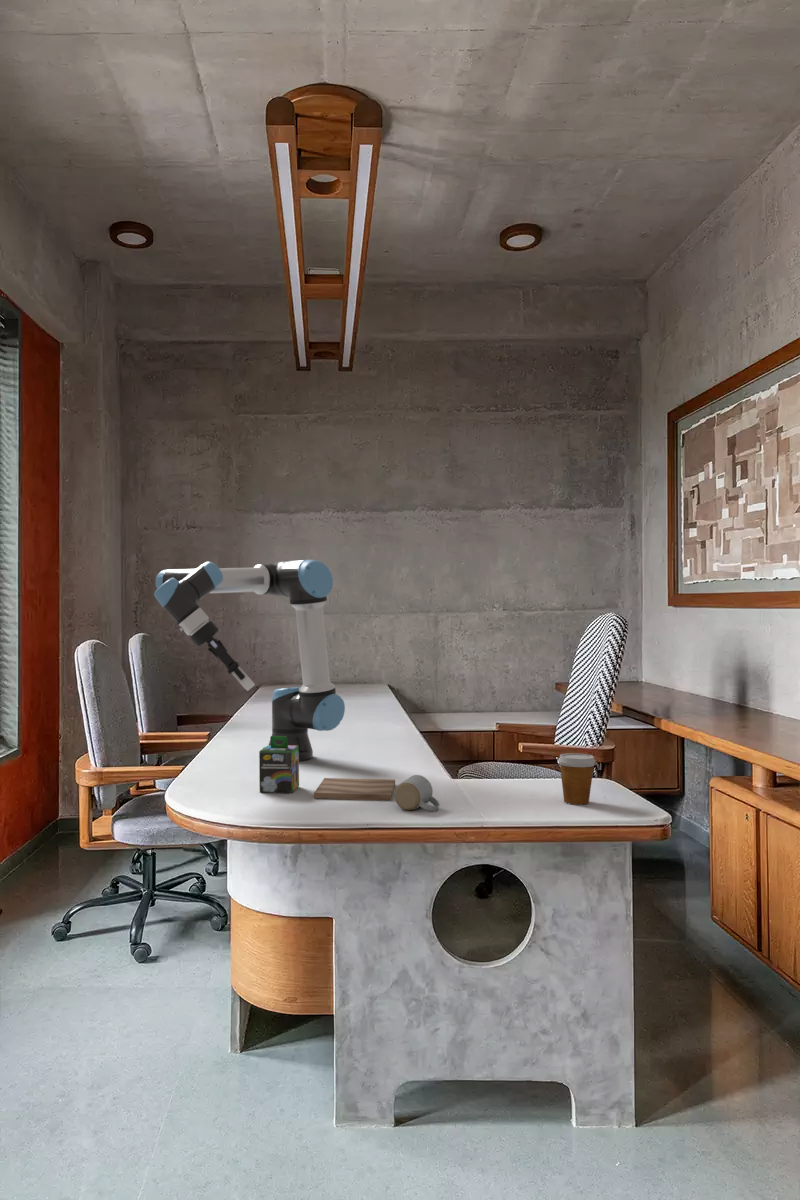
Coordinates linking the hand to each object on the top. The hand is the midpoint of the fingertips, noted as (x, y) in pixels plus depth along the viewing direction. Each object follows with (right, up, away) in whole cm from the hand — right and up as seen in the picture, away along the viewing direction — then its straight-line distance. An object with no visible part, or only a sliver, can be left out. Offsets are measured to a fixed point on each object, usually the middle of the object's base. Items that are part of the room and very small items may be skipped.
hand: (250, 686), depth 247 cm
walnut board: (+30, -28, -6) cm, 41 cm away
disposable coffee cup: (+87, -29, -16) cm, 93 cm away
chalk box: (+9, -28, -5) cm, 29 cm away
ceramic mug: (+46, -28, -25) cm, 59 cm away
